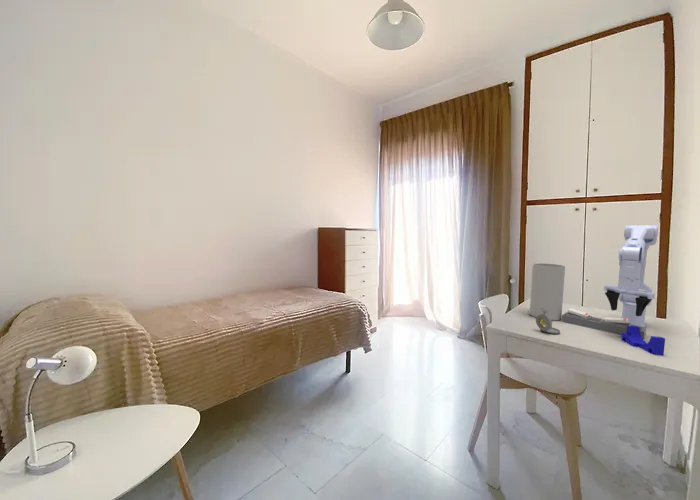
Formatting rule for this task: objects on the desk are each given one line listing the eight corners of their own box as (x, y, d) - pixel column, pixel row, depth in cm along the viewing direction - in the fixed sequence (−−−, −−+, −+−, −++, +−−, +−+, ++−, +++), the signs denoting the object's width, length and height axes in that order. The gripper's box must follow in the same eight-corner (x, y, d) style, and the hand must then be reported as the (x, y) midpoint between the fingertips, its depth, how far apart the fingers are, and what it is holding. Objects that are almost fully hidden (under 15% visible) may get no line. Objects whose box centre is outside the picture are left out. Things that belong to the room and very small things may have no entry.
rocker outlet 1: (569, 310, 131) (570, 307, 130) (588, 317, 125) (589, 313, 125) (567, 312, 128) (568, 309, 127) (586, 319, 123) (587, 315, 122)
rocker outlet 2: (606, 320, 121) (605, 316, 121) (628, 322, 116) (628, 318, 116) (604, 322, 118) (603, 318, 118) (627, 324, 113) (626, 320, 113)
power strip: (566, 318, 133) (567, 310, 133) (645, 334, 113) (646, 325, 113) (561, 321, 128) (562, 313, 128) (643, 339, 108) (644, 330, 108)
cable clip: (621, 340, 107) (622, 325, 107) (634, 341, 107) (636, 326, 106) (647, 354, 96) (649, 337, 95) (663, 355, 95) (665, 338, 94)
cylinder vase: (523, 314, 138) (526, 264, 136) (539, 311, 143) (542, 262, 141) (551, 322, 126) (554, 267, 124) (567, 319, 132) (571, 266, 130)
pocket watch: (561, 331, 116) (562, 307, 115) (558, 337, 110) (559, 312, 109) (537, 326, 121) (538, 303, 120) (533, 331, 115) (535, 308, 114)
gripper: (600, 275, 113) (597, 308, 114) (647, 282, 99) (644, 319, 101) (611, 274, 115) (608, 306, 116) (659, 281, 102) (655, 317, 103)
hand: (625, 312), depth 109 cm, fingers open, 7 cm apart
